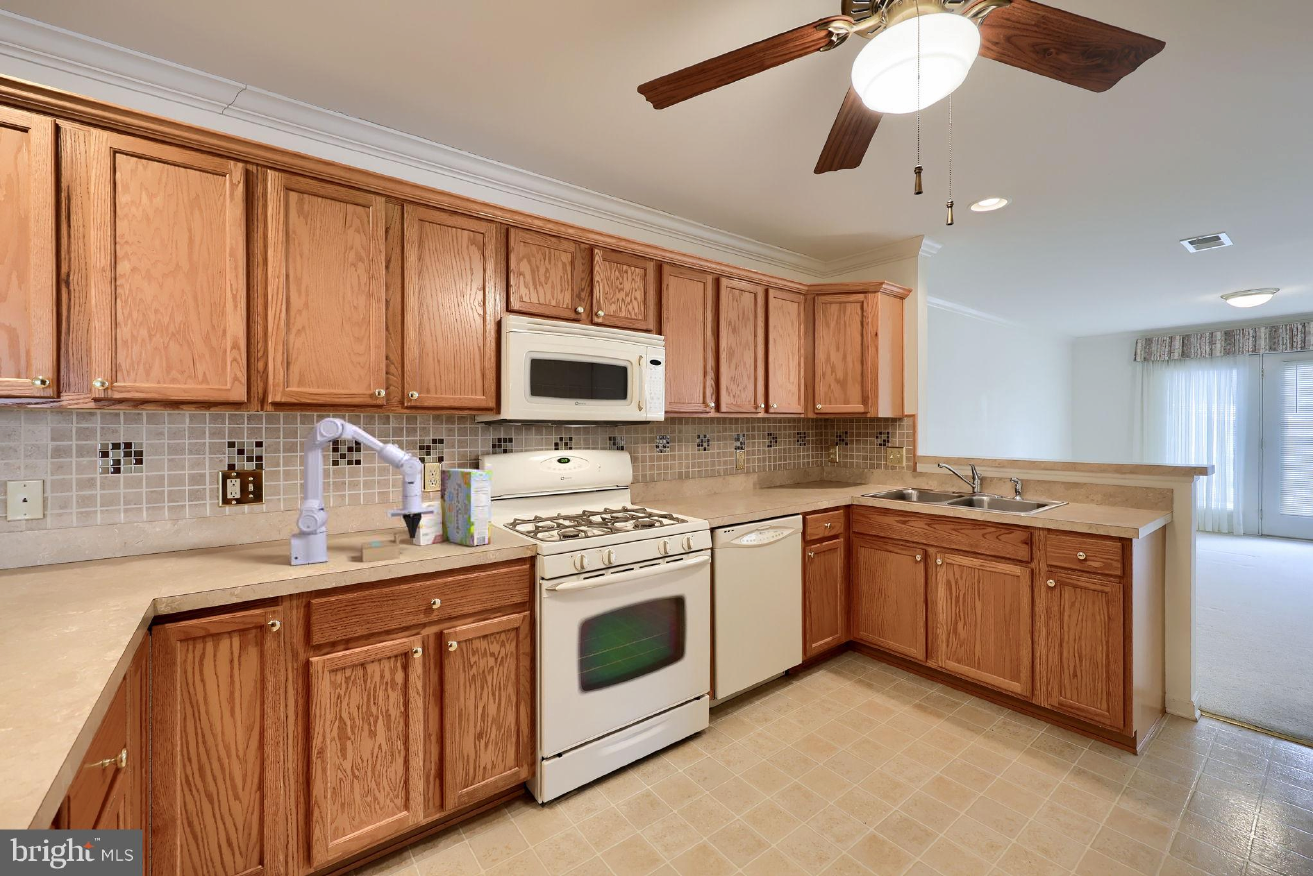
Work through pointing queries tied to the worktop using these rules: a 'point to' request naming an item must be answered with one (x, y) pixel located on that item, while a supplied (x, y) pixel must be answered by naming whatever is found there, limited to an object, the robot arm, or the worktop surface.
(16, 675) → the worktop surface
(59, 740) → the worktop surface
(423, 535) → the ink cartridge box
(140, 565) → the worktop surface
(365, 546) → the mailer lid
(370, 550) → the mailer tray
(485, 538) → the snack box
